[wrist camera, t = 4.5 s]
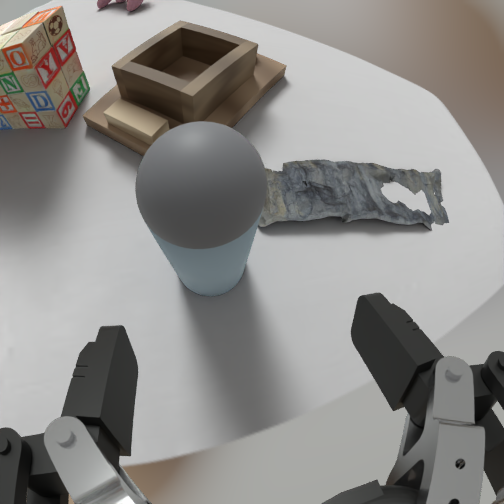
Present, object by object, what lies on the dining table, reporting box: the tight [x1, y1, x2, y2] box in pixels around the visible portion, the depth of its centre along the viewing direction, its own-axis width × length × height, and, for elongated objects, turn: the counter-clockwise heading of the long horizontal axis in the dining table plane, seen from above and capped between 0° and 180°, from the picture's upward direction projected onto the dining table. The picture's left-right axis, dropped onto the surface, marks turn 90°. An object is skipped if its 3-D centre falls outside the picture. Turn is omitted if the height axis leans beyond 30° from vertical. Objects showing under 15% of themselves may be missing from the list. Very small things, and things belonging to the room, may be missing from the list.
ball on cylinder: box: [136, 121, 267, 296], centre depth 15 cm, size 5×5×14 cm
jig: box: [83, 21, 286, 156], centre depth 24 cm, size 17×13×6 cm
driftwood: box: [258, 160, 449, 230], centre depth 24 cm, size 21×7×2 cm, turn 92°
